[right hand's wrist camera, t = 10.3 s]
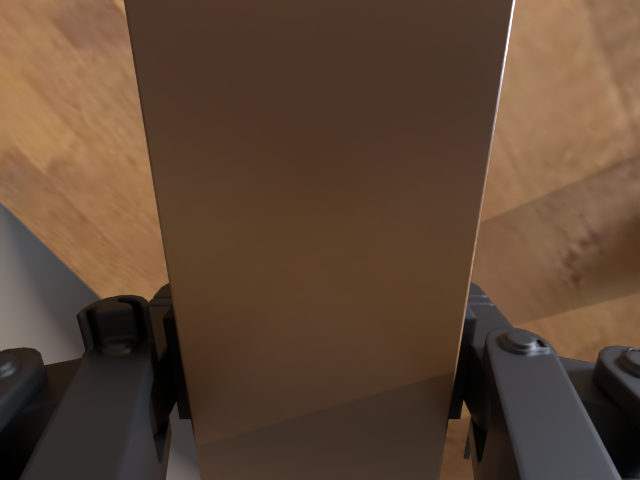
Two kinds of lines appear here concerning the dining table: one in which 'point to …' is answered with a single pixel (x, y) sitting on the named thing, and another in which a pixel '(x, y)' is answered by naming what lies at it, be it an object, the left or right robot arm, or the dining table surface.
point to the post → (319, 220)
